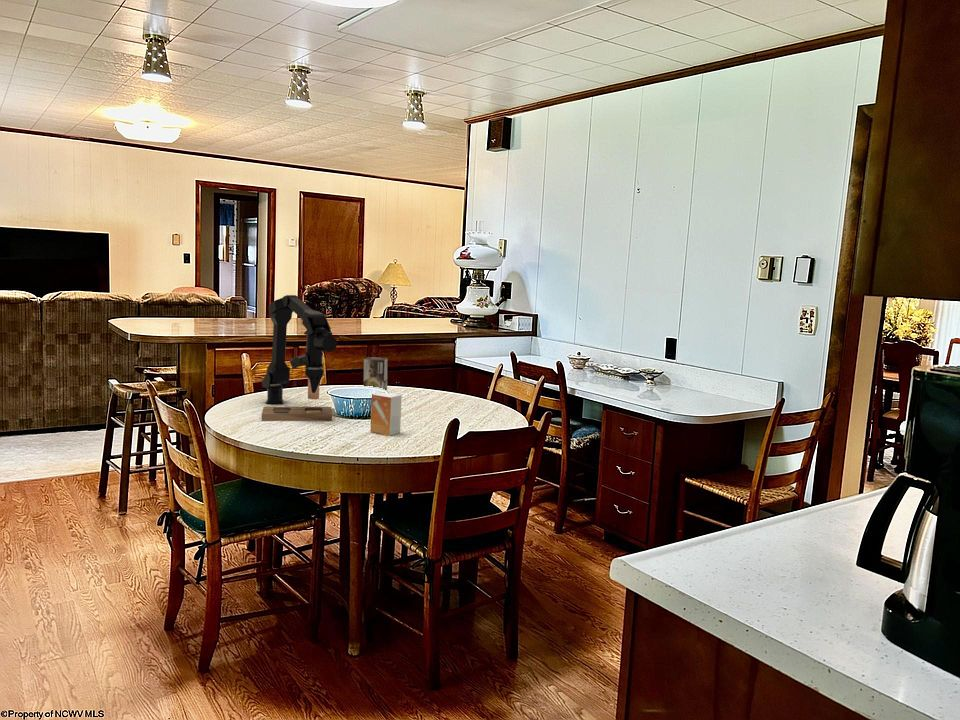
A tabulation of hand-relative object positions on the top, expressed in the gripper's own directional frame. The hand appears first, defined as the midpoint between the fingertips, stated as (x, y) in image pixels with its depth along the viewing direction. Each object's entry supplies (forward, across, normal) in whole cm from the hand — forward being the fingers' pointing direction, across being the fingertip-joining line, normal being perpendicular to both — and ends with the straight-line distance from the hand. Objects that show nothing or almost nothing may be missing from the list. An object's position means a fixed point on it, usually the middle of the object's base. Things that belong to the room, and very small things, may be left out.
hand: (313, 391), depth 265 cm
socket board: (+9, +1, -5) cm, 11 cm away
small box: (+9, +25, +24) cm, 36 cm away
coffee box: (+9, -40, +26) cm, 48 cm away
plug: (+2, 0, 0) cm, 2 cm away
